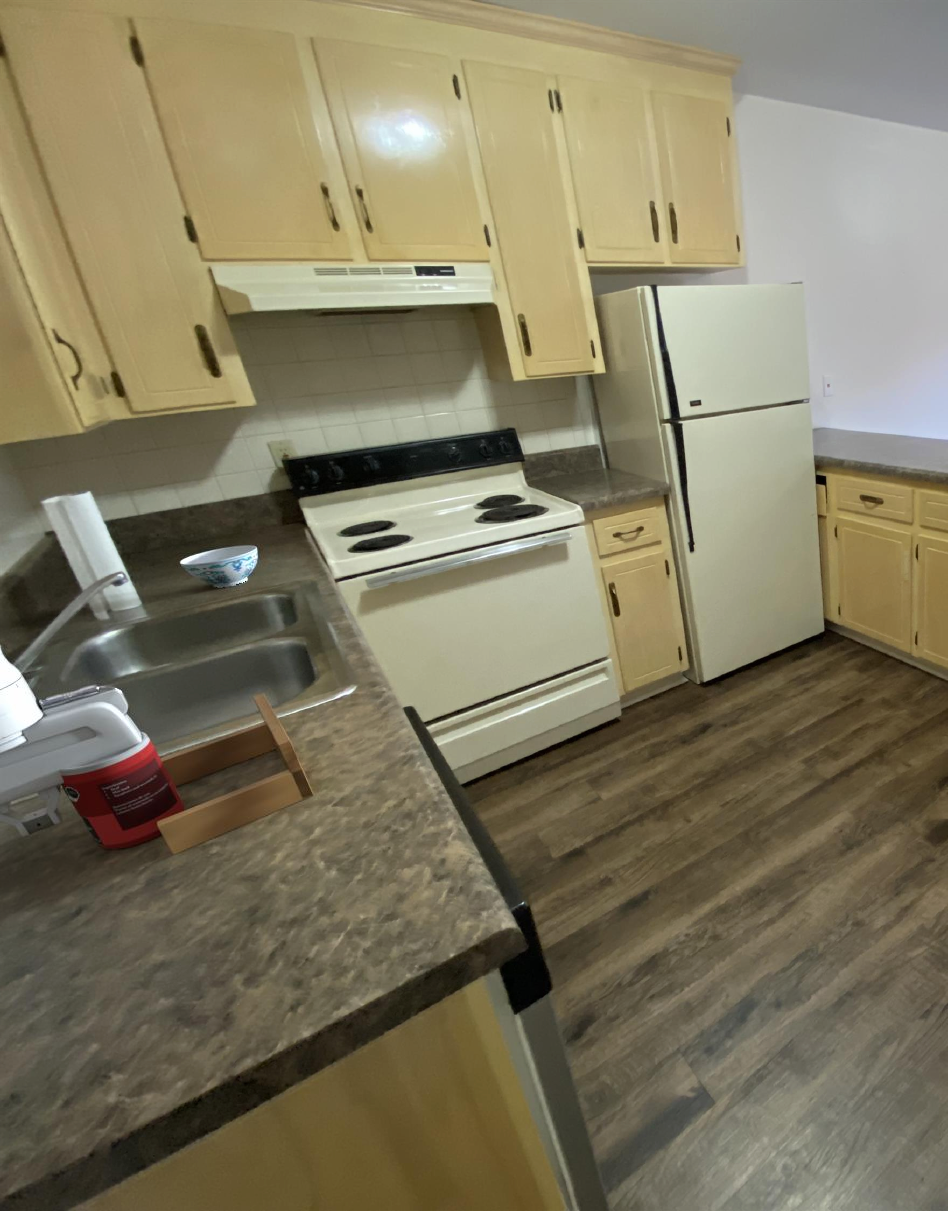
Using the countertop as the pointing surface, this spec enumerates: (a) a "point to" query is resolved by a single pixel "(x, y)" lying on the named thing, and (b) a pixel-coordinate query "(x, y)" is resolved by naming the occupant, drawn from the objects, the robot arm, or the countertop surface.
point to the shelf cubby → (239, 803)
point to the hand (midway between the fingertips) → (43, 827)
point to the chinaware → (222, 565)
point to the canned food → (123, 796)
